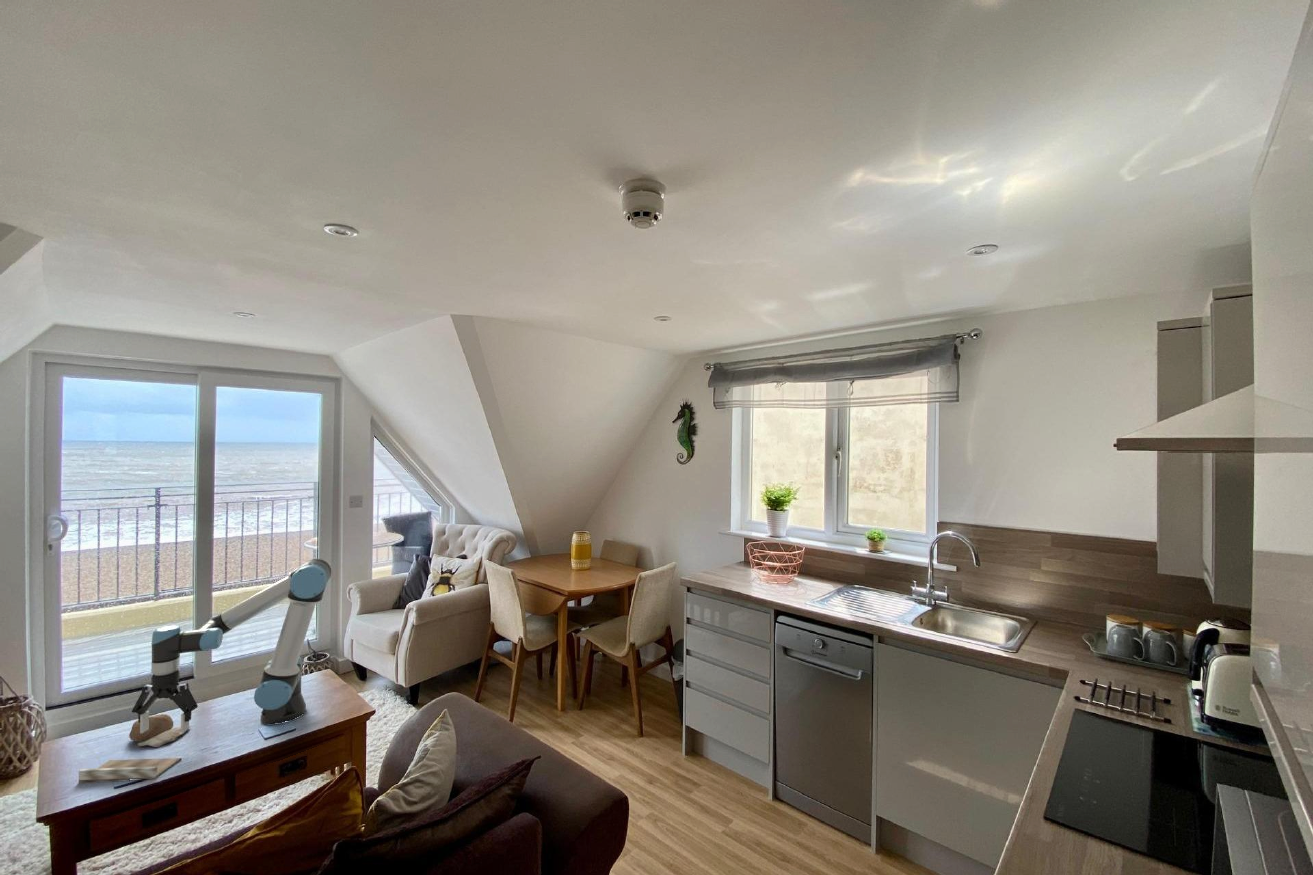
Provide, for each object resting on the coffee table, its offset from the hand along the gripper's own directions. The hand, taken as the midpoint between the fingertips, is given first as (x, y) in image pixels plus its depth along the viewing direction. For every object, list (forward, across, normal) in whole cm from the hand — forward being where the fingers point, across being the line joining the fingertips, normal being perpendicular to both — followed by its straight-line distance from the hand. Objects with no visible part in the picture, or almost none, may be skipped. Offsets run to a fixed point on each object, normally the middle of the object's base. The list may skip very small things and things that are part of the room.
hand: (164, 730), depth 194 cm
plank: (+8, +1, +12) cm, 14 cm away
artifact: (+6, +7, -1) cm, 10 cm away
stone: (+8, +16, -10) cm, 21 cm away
